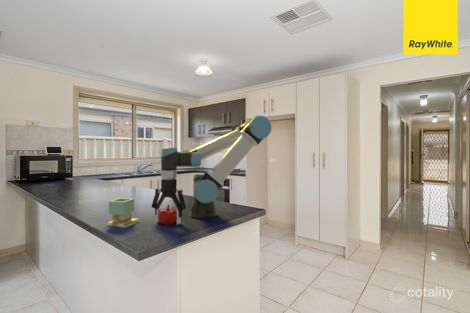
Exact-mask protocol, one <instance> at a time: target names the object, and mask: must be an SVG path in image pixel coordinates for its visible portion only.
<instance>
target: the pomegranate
mask: <svg viewBox="0 0 470 313" xmlns="http://www.w3.org/2000/svg"><path fill="white" fill-rule="evenodd" d="M177 211H178V210H177V207H176V208H175V207H170V204H167V206H165V208H164V209H162V210H161V212H160V214H159V221H160V222H159V223H160V224H162V225H165V226H169V225H174V224H177Z"/></svg>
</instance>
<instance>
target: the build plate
mask: <svg viewBox="0 0 470 313" xmlns="http://www.w3.org/2000/svg"><path fill="white" fill-rule="evenodd" d="M132 213H133V212H131V213H128V214H126V215H114V214H112V220H111V221H108V222H107V226H108V227H119V228H128V227H130V226H133V225H134V224H137V223H139V221H140V218H135V217H132Z"/></svg>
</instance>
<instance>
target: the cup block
mask: <svg viewBox="0 0 470 313" xmlns="http://www.w3.org/2000/svg"><path fill="white" fill-rule="evenodd" d="M131 212H132V213H133V212H135V199H134V198H127V197H125V198H124V197H119V198H115V199H111V200H108V215H113V214H114V215H126V214H128V213H131Z"/></svg>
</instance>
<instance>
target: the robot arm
mask: <svg viewBox="0 0 470 313" xmlns="http://www.w3.org/2000/svg"><path fill="white" fill-rule="evenodd" d="M271 132H272V122H271V121H270V120H269V119H268V118H267V117H266V116H264V115H255V116H253V117H252V118H250V119H248V120H247V121H245V122H244V123H242V124H241V125H239V126H237V127H235V130H232V131H230V132H228V133H226V134H224V135H221V136H219V137H216V138H215V139H213V140H211V141H208V142H206V143H204V144H202V145H199V146H197V147H195V148H193V149H191V150H188V151H178V148H177V147H162V149H161V156H160V158H161V159H160V162H161V164H160V165H161V168H160V171H161V172H160V178H161V179H160V186H161V188H159V187H158V188H155V189H154V190H155V191H154V196H153V199H152V204H151V208H152V209H154V215H155V216H156V218H155V219H156V223H160V221H159V214H160V212H162V208H160V207H161V206H162V204H163V203H164V200H165V198H171V200H172V201H173V202H174V205H175V207H176V211H177V222H176V225H179V224H181V221H182V219H181V218H182V217H183V211H185V210H186V209H187V206H186V203H185V199H184V194H183V189H178V188H177V185H178V182H177V180H178V179H177V177H178V174H177V172H178V167H179V168H181V167H183V168H185V167H187V168H190V167H191V168H197V167H198V168H200V167H201V166H202V161H203V160H205V159H207V158H209V157H212V156H214V155H217V154H218V153H220V152H222V151H225V150H227V149H228V150H227V151H226V152H225V154H224V155H223V156H222V157H221V158H220V159H219V161H218V162H217V163H216V164H215V166H213V167H212V169H211V170H207V171H205V172H204V173H202V174H199V173H198V174H194V175H193V179H192V181H193V184H192V185H193V187H192V188H193V191H192V192H193V194H192V195H193V201H192V205H191V207H190V211H189V216H190V217H192V218H195V219H211V218H215V217H217V216H218V210H217V208H216V203H215V200H216V198H217V197H218V195H219V192H221V190H222V188H223V187H224V182H225V180H227V178H228V177H229V176H230V174H232V172H233V171H234V170H235V168H236V167H237V166H238V165H239V164H240V163H241V161H242V160H243V159H244V158H245V157H246V155H247V154H248V153H249V152H250V150H252V148H253V147H257V146H259V144H260V143H261V142H262V141H263V140H264V139H265V138H267V137H268V136H270V134H271ZM160 194H161V195H160Z"/></svg>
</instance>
